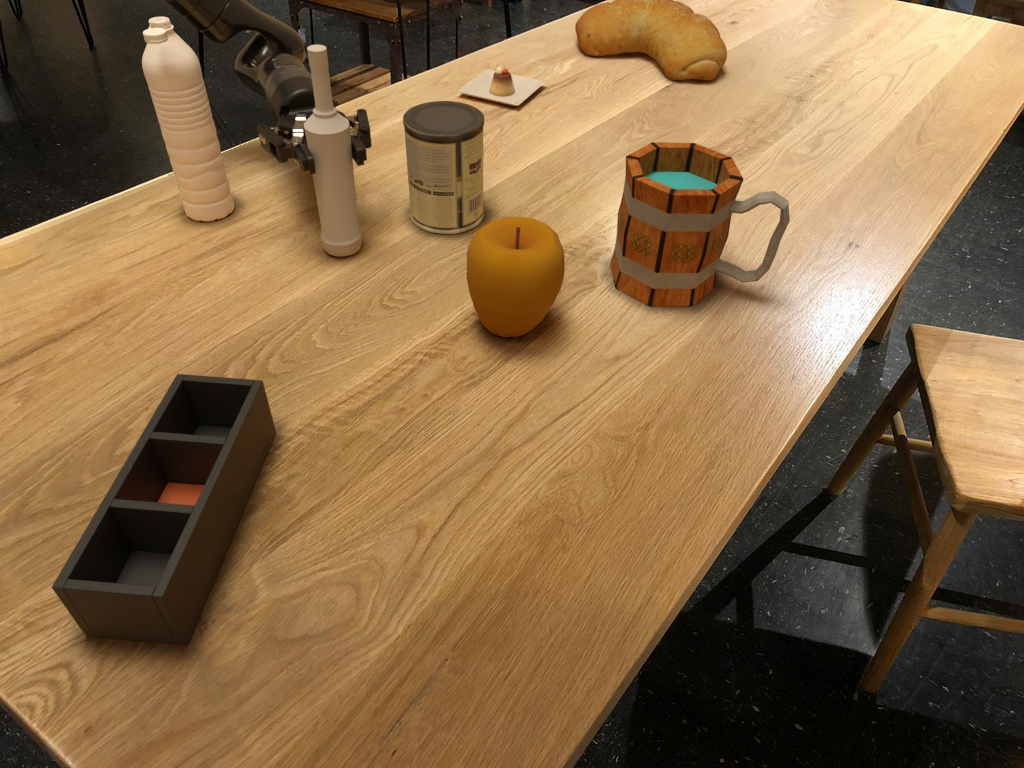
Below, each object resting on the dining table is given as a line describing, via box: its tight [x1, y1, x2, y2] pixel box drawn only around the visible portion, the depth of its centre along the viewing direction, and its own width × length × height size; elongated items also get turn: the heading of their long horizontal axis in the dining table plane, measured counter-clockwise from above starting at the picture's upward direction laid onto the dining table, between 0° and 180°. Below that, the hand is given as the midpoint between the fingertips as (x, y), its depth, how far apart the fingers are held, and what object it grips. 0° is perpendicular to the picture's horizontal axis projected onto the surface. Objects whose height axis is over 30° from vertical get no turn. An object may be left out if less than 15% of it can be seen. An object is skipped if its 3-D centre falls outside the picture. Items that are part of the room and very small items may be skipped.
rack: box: [51, 373, 277, 646], centre depth 65 cm, size 8×23×7 cm, turn 176°
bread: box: [574, 0, 728, 81], centre depth 150 cm, size 32×20×10 cm, turn 53°
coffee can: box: [402, 100, 485, 235], centre depth 101 cm, size 10×10×14 cm
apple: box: [466, 216, 566, 338], centre depth 85 cm, size 11×11×13 cm
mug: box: [609, 141, 791, 307], centre depth 91 cm, size 20×14×15 cm
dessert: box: [456, 63, 547, 107], centre depth 136 cm, size 12×12×5 cm
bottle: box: [304, 44, 363, 257], centre depth 90 cm, size 5×5×25 cm
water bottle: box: [141, 16, 235, 222], centre depth 96 cm, size 9×6×25 cm
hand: (336, 162), depth 88 cm, fingers closed on bottle, 5 cm apart
